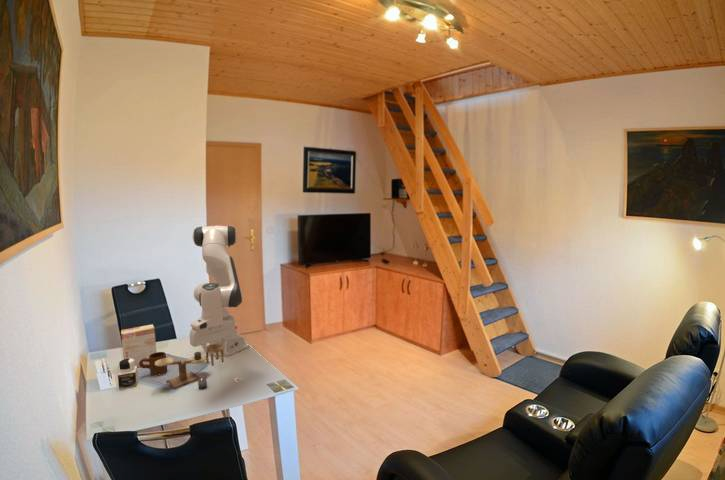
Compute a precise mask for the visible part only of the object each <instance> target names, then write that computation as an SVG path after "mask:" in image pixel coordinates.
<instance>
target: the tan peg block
mask: <svg viewBox="0 0 725 480" xmlns="http://www.w3.org/2000/svg"><path fill="white" fill-rule="evenodd" d="M205 347H206V348H209V352H208V353H210V354H211V355H210V363H211V364H210V365H211V367H213V366H215V362H214V361H215V360H214V356H213V353H216V356H215V357H216V358H215V359H216V360H219V359H221V363H224V362H225V358H224V353H223V350H224V346H223V345H221V344H219V343H215V344H211V345H209V344H208V345H206V346H205ZM220 351H221V356H219V354H218V352H220ZM208 353H205V356H206V361H205V362H206V364H208V363H209V354H208ZM220 357H221V358H220Z"/></svg>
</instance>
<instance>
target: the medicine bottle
mask: <svg viewBox="0 0 725 480" xmlns="http://www.w3.org/2000/svg"><path fill="white" fill-rule="evenodd" d="M118 366H119V371H118V373H117V380H118V389H119V390H123V389H127V388H133V387H136V386H138V381H139V373H138V372H139V371H138V368H137V366H135V364H134V359H131V358H128V359H124V358H123V359H122V360H120V361H119V365H118Z"/></svg>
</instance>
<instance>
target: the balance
mask: <svg viewBox="0 0 725 480" xmlns="http://www.w3.org/2000/svg"><path fill="white" fill-rule="evenodd" d="M193 354H194V356H192V357H190V358H189V359H188V360H186V359H185V360H183V359H180V360H176V361H175V358H174V357H166V358H162V359H159V360H157V361H156V362H155V366H167V367H168V366H172V365H173V366H175V365H178V374H179V375H178V376H176V377H174V378H171V379H167V380H166V382H167V383H169V384H170V385H171V386H172V387H173V388H172V387H171V386H170V385H169V386H170V387H171V388H172V389H174V390H177V389H180V388H182V387H185V386H187V385H190V384H192V383H195V382H198V378H200V376H199V375H197V374H195V373H194V372H192V371H190V372H187V364H193V365H195V364H201V363H204V362H206V355H202V352H201V351H195V352H194V353H193ZM167 383H166V384H167Z"/></svg>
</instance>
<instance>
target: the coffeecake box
mask: <svg viewBox="0 0 725 480" xmlns="http://www.w3.org/2000/svg"><path fill="white" fill-rule="evenodd" d="M155 331H156V330H155V326H154V324H147V325H142V326H136V327H131V328H125V329H121V330H120V336H121V346H122V355H123V360H124V359H128V358H131V359H134V364H135V366H137V369H138V368H141V367H140V365H139V362H140V360H141V359H143V358H149V356H150V355H151V354H153V353H157V343H156V342H157V341H156V332H155ZM143 364H144V365H147V364H148V365H150V364H149V362H145V361H144V362H143Z"/></svg>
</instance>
